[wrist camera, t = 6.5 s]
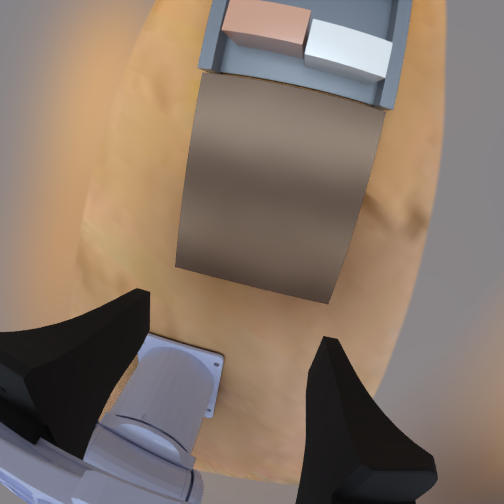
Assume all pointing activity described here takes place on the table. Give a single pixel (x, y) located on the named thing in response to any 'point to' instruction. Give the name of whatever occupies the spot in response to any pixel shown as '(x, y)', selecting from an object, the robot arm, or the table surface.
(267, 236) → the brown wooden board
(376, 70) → the tile cream
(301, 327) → the table surface
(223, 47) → the tray
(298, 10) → the tile terracotta
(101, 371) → the robot arm
